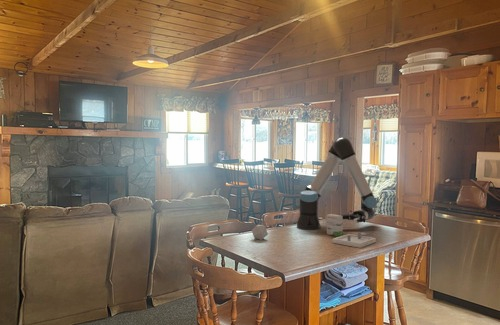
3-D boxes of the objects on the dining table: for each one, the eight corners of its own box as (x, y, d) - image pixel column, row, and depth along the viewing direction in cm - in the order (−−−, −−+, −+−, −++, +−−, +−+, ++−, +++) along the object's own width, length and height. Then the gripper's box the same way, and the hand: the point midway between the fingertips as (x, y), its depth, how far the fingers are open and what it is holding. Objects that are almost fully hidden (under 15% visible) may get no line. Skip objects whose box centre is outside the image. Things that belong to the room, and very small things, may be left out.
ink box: (343, 235, 224) (343, 215, 224) (337, 236, 221) (338, 216, 221) (331, 233, 231) (331, 213, 230) (326, 234, 227) (326, 214, 227)
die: (270, 240, 213) (267, 224, 218) (265, 235, 206) (262, 219, 211) (257, 244, 214) (254, 229, 220) (251, 240, 207) (248, 224, 213)
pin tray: (332, 242, 205) (332, 234, 205) (349, 237, 218) (349, 229, 218) (360, 247, 194) (360, 238, 194) (375, 242, 207) (375, 233, 207)
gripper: (378, 223, 240) (362, 228, 224) (342, 219, 257) (326, 223, 241) (378, 212, 240) (362, 216, 224) (342, 208, 257) (326, 212, 241)
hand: (343, 220), depth 233 cm, fingers open, 13 cm apart
